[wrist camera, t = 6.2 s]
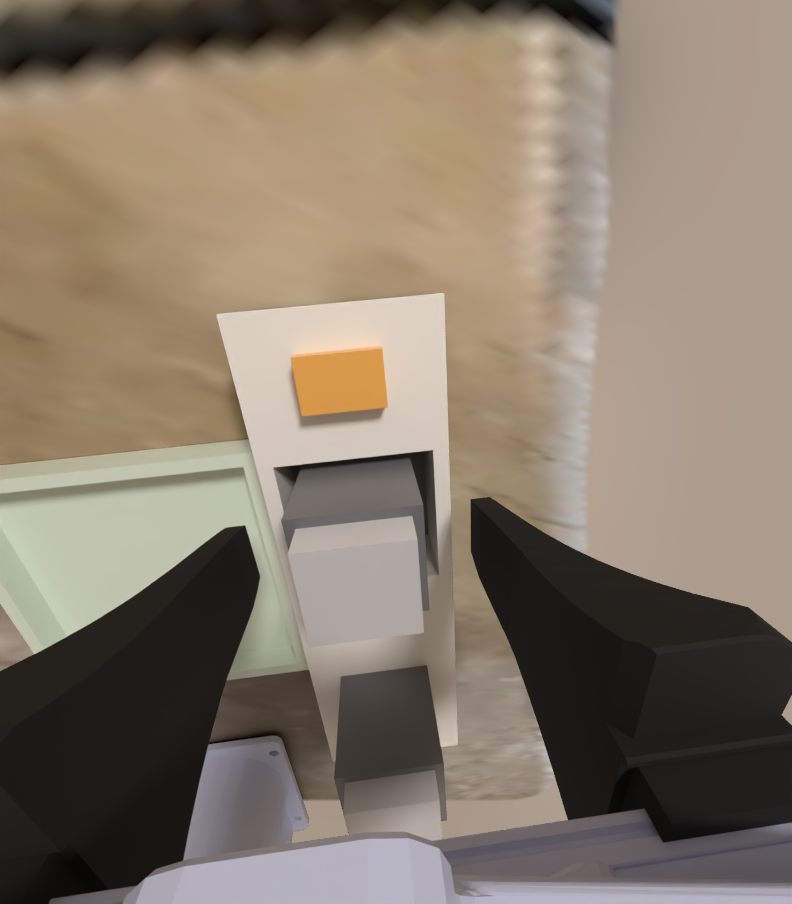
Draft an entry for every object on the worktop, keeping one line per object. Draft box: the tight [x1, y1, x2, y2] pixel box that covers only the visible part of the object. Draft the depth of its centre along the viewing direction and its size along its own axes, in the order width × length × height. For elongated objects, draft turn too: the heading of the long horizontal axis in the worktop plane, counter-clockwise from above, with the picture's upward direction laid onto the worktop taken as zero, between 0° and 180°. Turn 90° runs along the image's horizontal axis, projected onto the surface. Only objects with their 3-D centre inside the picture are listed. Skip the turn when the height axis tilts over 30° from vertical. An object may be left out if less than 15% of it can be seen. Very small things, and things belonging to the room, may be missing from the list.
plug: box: [281, 453, 430, 647], centre depth 12 cm, size 4×4×6 cm
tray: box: [0, 439, 309, 681], centre depth 15 cm, size 11×11×2 cm
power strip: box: [216, 293, 458, 841], centre depth 13 cm, size 20×6×7 cm, turn 5°
